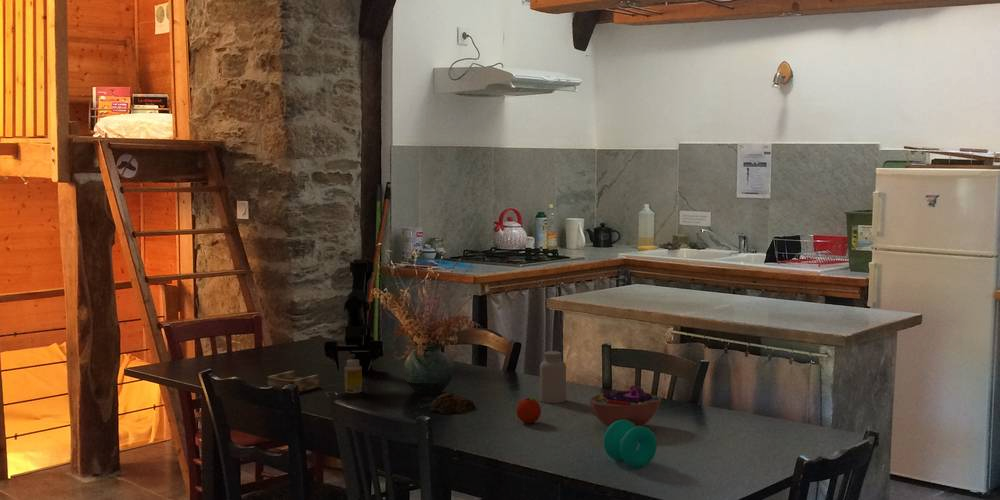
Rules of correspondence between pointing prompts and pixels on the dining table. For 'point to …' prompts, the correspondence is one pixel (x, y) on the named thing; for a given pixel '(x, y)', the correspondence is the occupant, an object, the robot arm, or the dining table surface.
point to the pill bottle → (552, 378)
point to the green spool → (630, 443)
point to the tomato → (528, 410)
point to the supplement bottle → (353, 376)
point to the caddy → (293, 380)
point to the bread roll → (451, 404)
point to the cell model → (625, 406)
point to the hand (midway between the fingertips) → (352, 370)
